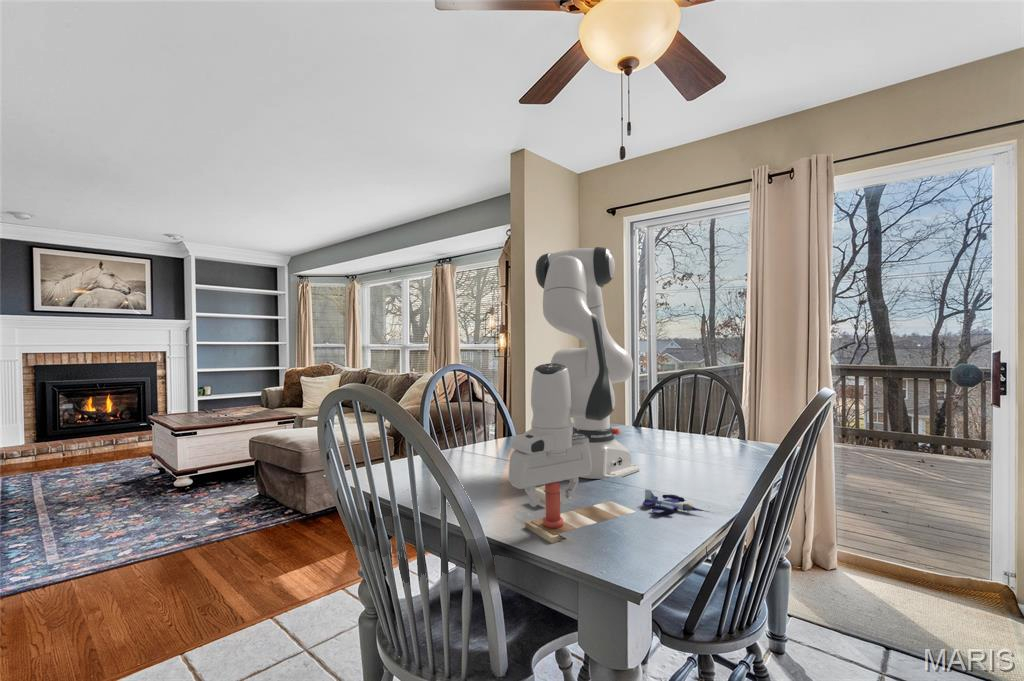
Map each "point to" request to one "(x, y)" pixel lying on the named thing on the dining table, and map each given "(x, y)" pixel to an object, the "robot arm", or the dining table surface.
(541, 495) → the die
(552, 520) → the pawn
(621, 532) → the dining table surface
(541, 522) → the track board
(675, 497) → the toy airplane
